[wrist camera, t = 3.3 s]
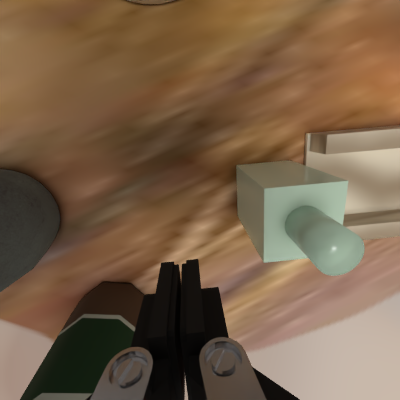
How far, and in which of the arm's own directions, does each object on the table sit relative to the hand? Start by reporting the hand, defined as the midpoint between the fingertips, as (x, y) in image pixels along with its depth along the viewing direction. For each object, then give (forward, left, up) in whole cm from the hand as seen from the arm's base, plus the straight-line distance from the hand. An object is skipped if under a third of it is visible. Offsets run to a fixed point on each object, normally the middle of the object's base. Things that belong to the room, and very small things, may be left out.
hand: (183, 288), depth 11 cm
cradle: (-1, +18, -12) cm, 21 cm away
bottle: (-1, +7, -12) cm, 14 cm away
